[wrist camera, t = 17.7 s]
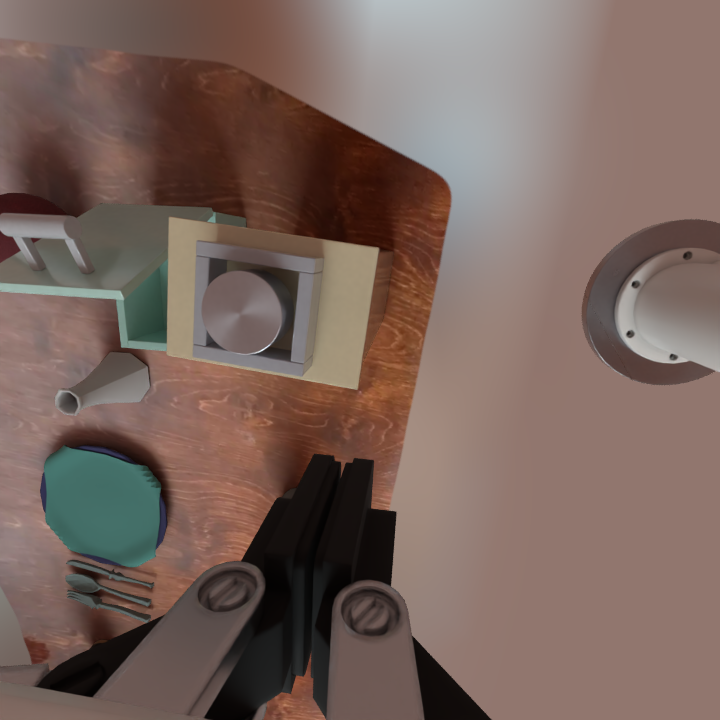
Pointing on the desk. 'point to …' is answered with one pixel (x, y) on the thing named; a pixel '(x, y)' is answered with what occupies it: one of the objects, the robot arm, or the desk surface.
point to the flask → (107, 384)
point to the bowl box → (154, 304)
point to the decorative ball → (6, 246)
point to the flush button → (247, 310)
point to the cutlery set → (103, 516)
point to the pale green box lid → (89, 249)
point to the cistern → (306, 286)
